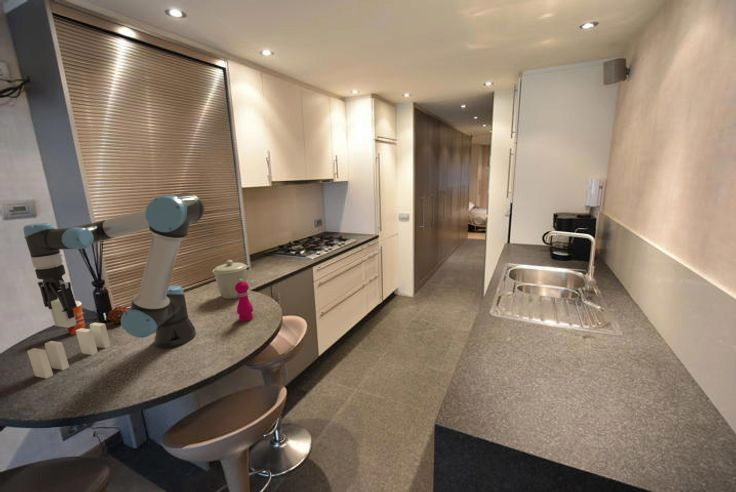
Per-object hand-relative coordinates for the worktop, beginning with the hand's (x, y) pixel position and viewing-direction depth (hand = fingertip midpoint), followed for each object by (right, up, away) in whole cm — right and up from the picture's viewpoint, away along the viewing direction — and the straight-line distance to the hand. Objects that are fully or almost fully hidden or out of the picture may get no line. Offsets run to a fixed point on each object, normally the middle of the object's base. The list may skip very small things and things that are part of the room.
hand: (65, 324), depth 121 cm
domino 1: (-2, -17, -6) cm, 18 cm away
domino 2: (0, 0, 0) cm, 0 cm away
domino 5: (+4, -12, +13) cm, 18 cm away
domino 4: (+2, -13, +8) cm, 15 cm away
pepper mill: (+56, -5, +33) cm, 65 cm away
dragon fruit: (-6, -7, +35) cm, 36 cm away
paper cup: (-19, -10, +27) cm, 34 cm away
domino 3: (-1, -16, -1) cm, 16 cm away
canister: (+38, +1, +62) cm, 73 cm away
